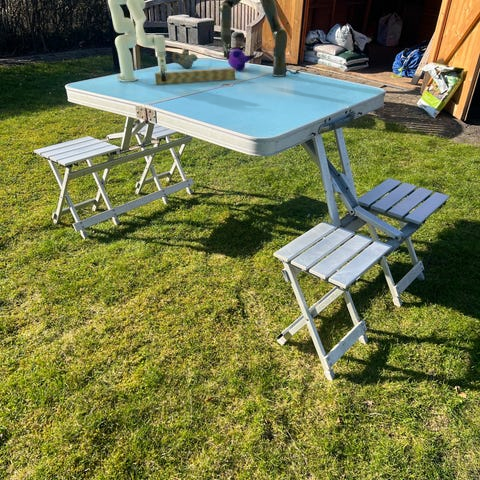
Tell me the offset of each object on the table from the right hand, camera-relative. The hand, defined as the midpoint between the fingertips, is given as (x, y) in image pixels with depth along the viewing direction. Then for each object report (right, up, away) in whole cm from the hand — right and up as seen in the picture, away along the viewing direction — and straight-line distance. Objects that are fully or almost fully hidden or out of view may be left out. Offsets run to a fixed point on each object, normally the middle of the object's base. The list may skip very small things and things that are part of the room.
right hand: (226, 58), depth 332 cm
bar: (-23, -16, +3) cm, 28 cm away
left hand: (-46, -18, -4) cm, 50 cm away
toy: (+10, +7, +41) cm, 42 cm away
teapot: (-37, +13, +54) cm, 66 cm away
